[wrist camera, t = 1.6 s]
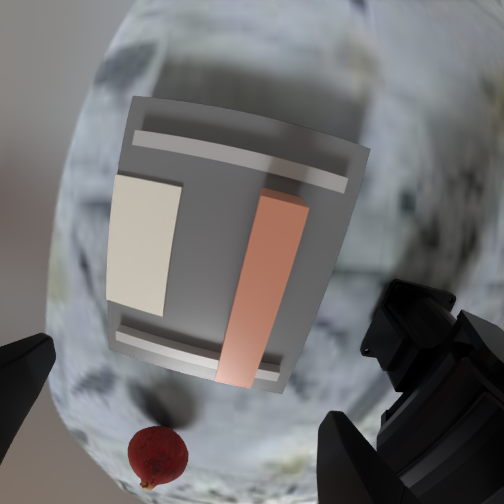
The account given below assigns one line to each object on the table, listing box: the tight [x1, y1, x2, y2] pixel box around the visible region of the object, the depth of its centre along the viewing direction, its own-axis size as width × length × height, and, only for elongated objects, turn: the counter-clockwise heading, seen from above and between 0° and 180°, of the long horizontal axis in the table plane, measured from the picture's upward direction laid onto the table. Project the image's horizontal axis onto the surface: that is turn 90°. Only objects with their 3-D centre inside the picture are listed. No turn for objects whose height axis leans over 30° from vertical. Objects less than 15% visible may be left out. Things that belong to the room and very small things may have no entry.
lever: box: [215, 187, 309, 389], centre depth 15 cm, size 2×10×3 cm, turn 166°
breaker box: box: [106, 96, 370, 394], centre depth 17 cm, size 13×17×3 cm
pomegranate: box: [128, 426, 188, 490], centre depth 21 cm, size 6×6×8 cm
